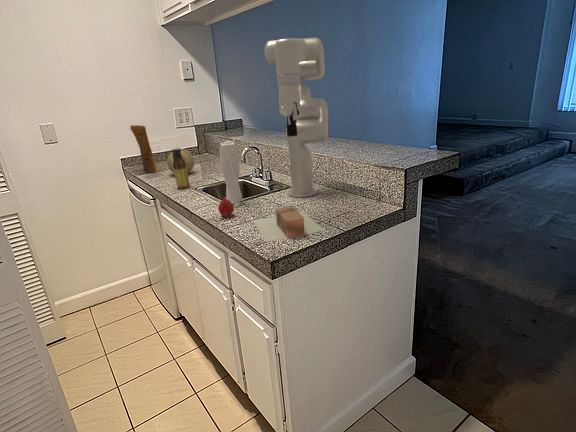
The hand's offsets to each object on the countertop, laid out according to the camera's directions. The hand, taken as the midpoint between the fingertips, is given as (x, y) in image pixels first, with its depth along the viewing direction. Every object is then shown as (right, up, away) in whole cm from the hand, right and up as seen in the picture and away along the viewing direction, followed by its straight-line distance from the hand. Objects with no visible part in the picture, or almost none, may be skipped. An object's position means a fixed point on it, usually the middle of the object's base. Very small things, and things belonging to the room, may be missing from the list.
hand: (292, 135), depth 126 cm
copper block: (-3, -28, 0) cm, 28 cm away
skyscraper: (-24, -23, +28) cm, 44 cm away
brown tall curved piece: (-87, -1, +95) cm, 128 cm away
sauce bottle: (-54, -14, +55) cm, 78 cm away
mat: (-2, -32, 0) cm, 32 cm away
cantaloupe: (-62, -4, +82) cm, 103 cm away
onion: (-25, -29, +12) cm, 40 cm away
